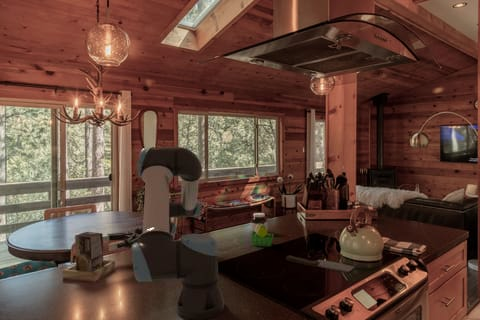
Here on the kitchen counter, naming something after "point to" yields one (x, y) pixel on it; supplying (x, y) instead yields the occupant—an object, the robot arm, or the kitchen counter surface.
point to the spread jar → (258, 221)
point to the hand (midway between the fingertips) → (101, 244)
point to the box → (86, 276)
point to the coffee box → (89, 251)
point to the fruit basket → (262, 237)
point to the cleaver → (322, 264)
